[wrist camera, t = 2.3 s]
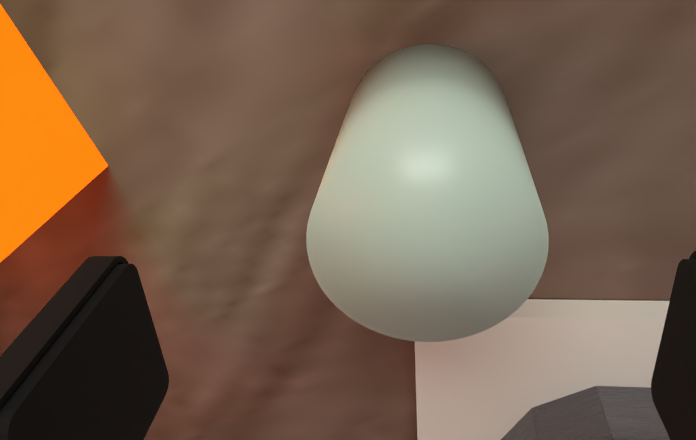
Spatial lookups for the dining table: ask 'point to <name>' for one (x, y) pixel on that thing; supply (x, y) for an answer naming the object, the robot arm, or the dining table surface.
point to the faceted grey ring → (594, 417)
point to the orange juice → (36, 144)
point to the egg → (427, 202)
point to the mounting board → (533, 363)
